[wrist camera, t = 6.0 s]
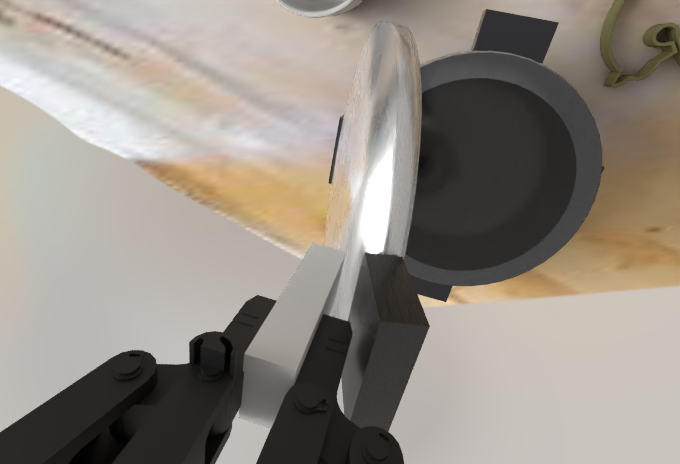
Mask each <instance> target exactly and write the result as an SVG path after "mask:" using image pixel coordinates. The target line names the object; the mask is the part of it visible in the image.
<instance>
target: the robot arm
mask: <svg viewBox="0 0 680 464" xmlns="http://www.w3.org/2000/svg"><path fill="white" fill-rule="evenodd" d="M345 255H346V252H345V251H341V250H337V249H334V248H330V247H327V246H323V245H319V244H316V243H313V244H312V245H311V247H310V249H309V250H308V252H307V253H306V255H305V257H304V258H303V260H302V261H301V263H300V265H299V266H298V268H297V270H296V271H295V273H294V274H293V276H292V278H291V279H290V281H289V282H288V284H287V286H286V287H285V289H284V290H283V292H282V294H281V295H280V297H279V299H278V300H277V301H275V300H272V299H269V298H265V297H262V296H259V295H257V296H255V297H253V298H252V299H250V300H248V301H247V302H246V303H245V304H244V305H243V307H242V308H241V309H240V311H239V313H238V314H237V315H236V316H235V317H234V319H233V321H232V322H231V323H230V324H229V325H228V327H227V328H226V329H225V331H224V332H223V333H222V332H216V331H214V332H206V333H203V334H201V335H198V336H196V337H195V338H194V339H193V340H191V341H190V342H189V343H190V344H189V346H190V347H189V348H190V351H189V352H190V363H188V364H180V365H170V364H169V365H168V364H156V359H155V358H154V357H153V356H152V355H151V354H150V353H148V352H145V351H140V350H132V351H128V352H123V353H120V354H118V355H116V356H114V357H113V358H111V359H109V360H108V361H106V362H105V363H103V364H102V365H100V366H99V367H97V368H96V369H94V370H93V371H91V372H90V373H88V374H87V375H86V376H84V377H82V378H81V379H79V380H78V381H76V382H75V383H73V384H72V385H70V386H69V387H67V388H66V389H65V390H63V391H61V392H60V393H58V394H57V395H55V396H54V397H52V398H51V399H49V400H48V401H46V402H45V403H43V404H42V405H40V406H39V407H37V408H36V409H34V410H33V411H31V412H30V413H29V414H27V415H25V416H24V417H22V418H21V419H19V420H18V421H17V422H15V423H13V424H12V425H11V426H9V427H8V428H6V429H5V430H3V431H2V432H0V464H215V462H216V460H217V458H218V457H219V455H220V453H221V451H222V449H223V447H224V445H225V443H226V442H227V440H228V438H229V435H230V432H231V429H232V421H233V419H234V417H235V415H236V414H237V412H238V410H239V418H241V419H244V420H247V421H250V422H253V423H256V424H258V425H261V426H264V427H267V428H270V429H271V430H270V433H269V435H268V437H267V439H266V442H265V444H264V446H263V449H262V451H261V454H260V456H259V458H258V461H257V463H256V464H404V460H403V454H402V451H401V449H400V446H399V443H398V442H397V441H396V439H395V438H394V437H393V436H392V435H391V434H390V433H389V432H387V431H386V430H384V429H382V428H379V427H375V426H369V427H363V428H362V429H361V428H360V427H358V426H357V425H355V424H354V423H353V422H351V421H350V420H349V419H348V418H347V417H345V415H344V414H343V413H342V411H341V410H340V408H339V405H338V403H337V390H338V386H339V383H340V379H341V375H342V372H343V368H344V364H345V361H346V357H347V353H348V350H349V346H350V342H351V339H352V335H353V332H352V328H351V324H350V322H349V321H345V320H342V319H339V318H335V317H332V316H330V313H331V311H332V308H333V305H334V303H335V299H336V294H337V290H338V286H339V281H340V277H341V273H342V268H343V264H344V260H345ZM239 408H240V409H239Z"/></svg>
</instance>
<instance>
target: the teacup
mask: <svg viewBox="0 0 680 464" xmlns="http://www.w3.org/2000/svg"><path fill="white" fill-rule="evenodd" d="M276 1H277V2H278V3H279V4H280V5H281V6H283V7H284V8H285V9H287V10H288V11H290V12H292V13H295V14H297V15H300V16H305V17H312V18H318V17H325V16H334V15H339V14H342V13H345V12H347V11H349V10H351V9H353V8H355V7H356V6H357V5H359V4H360V3H361V2H362V1H363V0H276Z"/></svg>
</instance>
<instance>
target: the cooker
mask: <svg viewBox="0 0 680 464" xmlns="http://www.w3.org/2000/svg"><path fill="white" fill-rule="evenodd" d="M557 26H558V22H552V21H547V20H542V19H536V18H531V17H526V16H520V15H515V14H510V13H504V12H499V11H494V10H488V9H486V10H485V11H484V12H483V14H482V17H481V20H480V23H479V27H478V30H477V33H476V36H475V39H474V43H473V46H472V49H471V50H475V51H469V52H463V53H456V54H451V55H447V56H444V57H440V58H437V59H434V60H431V61H429V62H427V63H424V64H422V65H420V74H421V93H422V118H421V139H420V153H419V164H418V175H417V184H416V191H415V198H414V206H413V213H412V220H411V225H410V231H409V236H408V241H407V247H406V252H405V257H404V262H405V265H406V267H407V270H408V272H409V275H410V277H411V280H412V283H413V285H414V288H415V290H416V293H417V294H419V295H423V296H426V297H430V298H434V299H437V300H441V301H444V302H446V301H447V298H448V296H449V293H450V291H451V288H452V286H476V285H486V284H491V283H495V282H500V281H503V280H507V279H510V278H513V277H516V276H518V275H520V274H522V273H525V272H527V271H529V270H531V269H533V268H534V267H536V266H538V265H540V264H541V263H543V262H544V261H546V260H547V259H549V258H550V257H551V256H553V255H554V254H555V253H557V252H558V251H559V250H560V249H561V248H562V247H563V246H564V245H565V244H566V243H567V242H568V241H569V240H570V239H571V238H572V236H573V235H574V234H575V233H576V232H577V231H578V229H579V228H580V226H581V225H582V223H583V222H584V220H585V219H586V217H587V215H588V213H589V211H590V209H591V207H592V205H593V203H594V201H595V197H596V194H597V191H598V188H599V184H600V178H601V173H602V171H603V169H604V167H603V166H602V148H601V142H600V136H599V132H598V129H597V126H596V123H595V120H594V118H593V116H592V114H591V112H590V110H589V109H588V107H587V105H586V103H585V102H584V100H583V99H582V98H581V97H580V95H579V94H578V93H577V91H576V90H575V89H574V88H573V87H572V86H571V85H570V84H569V83H568V82H567V81H566V80H565V79H564V78H562V77H561V76H560V75H559V74H557V73H556V72H554V71H552V70H551V69H549V68H548V67H546V66H545V65H542V64H540V63H543V60H544V58H545V56H546V53H547V51H548V48H549V46H550V43H551V41H552V38H553V36H554V33H555V31H556V28H557ZM343 119H344V115H343V116H341V117H340V120H339V126H338V131H337V137H336V143H335V149H334V154H333V160H332V166H331V171H330V177H329V183H330V184H332V178H333V171H334V166H335V160H336V154H337V149H338V143H339V138H340V133H341V128H342V124H343Z"/></svg>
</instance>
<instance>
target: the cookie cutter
mask: <svg viewBox="0 0 680 464" xmlns="http://www.w3.org/2000/svg"><path fill="white" fill-rule="evenodd" d="M624 2H625V0H615V1H614V3H613V4H612V6H611V8H610V10H609V12H608V14H607V17H606V19H605V22H604V25H603V28H602V32H601V37H600V50H601V55H602V58H603V60H604V62H605V64H606V66H607V67H608V68H609V70H610V71H611V72H610V74H609V75H608V77H607V78H606V80H605V82H604V86H609V87H617V86H619V85H622V84H624V83H626V82H627V81H629V80H642V79H645V78H646V77H648V76H649V75H650V74H651V73H652V72H653V71H654V70H655V69H656V67H657V66H658V65H659V64H660V63H661V62H663V61H665V60H666V59H668V58H669V57H671V56H672V55H673V57H674V59H675V60H676V62H677V64H678V65H679V66H680V30H679V26H678V25H676V24H674V23H666V24H658V25H655V26H652V27H651V28H649V29H648V30H647V31H646V33H645V34H644V37H643V42H644V44H645V45H647V46H651V47H655V46H661V47H662V50H663V52H662V53H660V54H659V55H657V56H656V57H654V58H652V59H651V60H649V61H648V62H647V63H646V64H645V66H644V67H643V68H642V70H641V71H640V72H639V73H637V74H636V75H634V76H630V75H623V76H621V77H619V76H620V75H621V73H622V72H623V71H622V70H621V69H620V67H619V66H618V65H617V63H616V62H615V60H614V58H613V55H612V51H611V35H612V30H613V26H614V23H615V20H616V18H617V15H618V13H619V11H620V9H621V7H622V5H623V3H624ZM661 29H664V30H665V35H666V39H667V42H661V43H660V42H658V41H657V40H656V36H657V34H658V32H659V31H660V30H661Z"/></svg>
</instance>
